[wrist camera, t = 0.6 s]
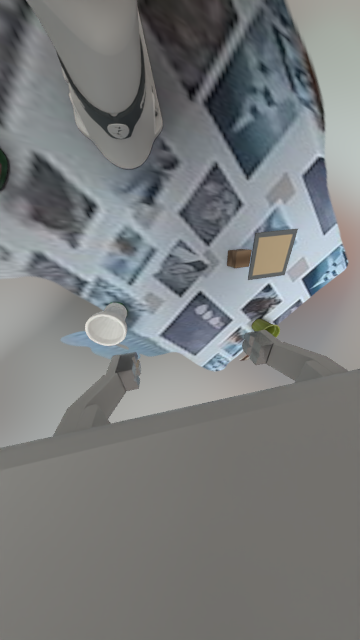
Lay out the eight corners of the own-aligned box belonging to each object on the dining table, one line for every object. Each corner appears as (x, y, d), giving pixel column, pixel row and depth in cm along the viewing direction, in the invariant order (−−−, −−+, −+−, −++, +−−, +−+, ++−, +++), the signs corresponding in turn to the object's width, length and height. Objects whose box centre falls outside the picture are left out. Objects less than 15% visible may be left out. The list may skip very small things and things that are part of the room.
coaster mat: (255, 233, 47) (256, 233, 47) (297, 228, 48) (297, 228, 48) (247, 279, 55) (248, 280, 55) (283, 274, 57) (284, 274, 56)
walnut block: (228, 250, 48) (236, 251, 43) (241, 249, 49) (251, 249, 44) (226, 265, 51) (235, 268, 46) (239, 263, 51) (248, 266, 46)
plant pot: (248, 334, 70) (260, 345, 63) (247, 319, 65) (259, 329, 58) (266, 328, 70) (279, 338, 62) (266, 312, 65) (280, 322, 58)
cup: (120, 291, 49) (109, 307, 37) (138, 315, 55) (133, 336, 43) (94, 305, 50) (75, 325, 38) (114, 327, 56) (103, 351, 43)
